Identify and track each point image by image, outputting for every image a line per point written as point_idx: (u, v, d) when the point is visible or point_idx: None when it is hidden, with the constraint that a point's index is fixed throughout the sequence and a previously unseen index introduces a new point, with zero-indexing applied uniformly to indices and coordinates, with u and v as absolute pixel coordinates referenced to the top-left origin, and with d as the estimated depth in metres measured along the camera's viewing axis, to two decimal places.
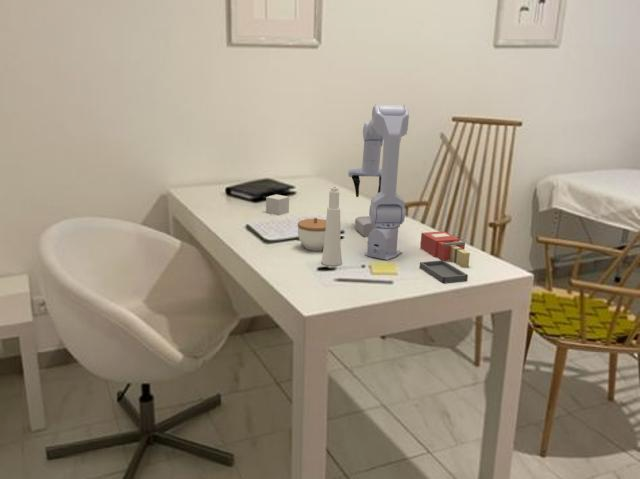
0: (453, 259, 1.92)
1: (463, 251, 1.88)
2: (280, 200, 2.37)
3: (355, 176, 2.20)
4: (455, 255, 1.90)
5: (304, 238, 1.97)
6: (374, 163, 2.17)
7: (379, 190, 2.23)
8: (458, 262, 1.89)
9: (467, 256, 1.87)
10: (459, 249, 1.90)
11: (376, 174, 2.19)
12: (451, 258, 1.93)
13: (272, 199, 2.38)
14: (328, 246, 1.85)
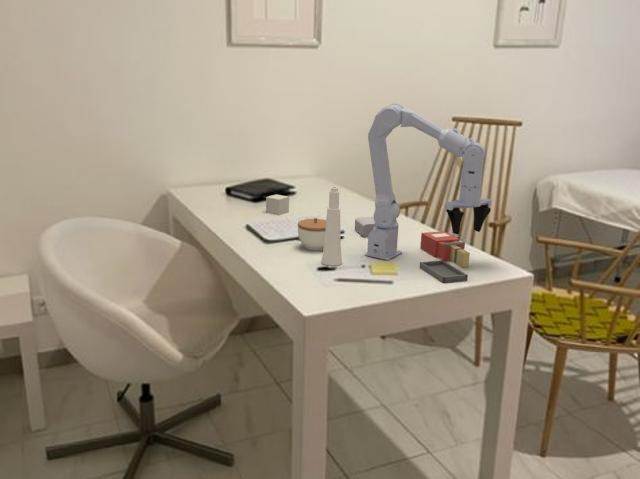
0: (453, 259, 1.92)
1: (463, 251, 1.88)
2: (280, 200, 2.37)
3: None
4: (455, 255, 1.90)
5: (304, 238, 1.97)
6: None
7: None
8: (458, 262, 1.89)
9: (467, 256, 1.87)
10: (459, 249, 1.90)
11: None
12: (451, 258, 1.93)
13: (272, 199, 2.38)
14: (328, 246, 1.85)
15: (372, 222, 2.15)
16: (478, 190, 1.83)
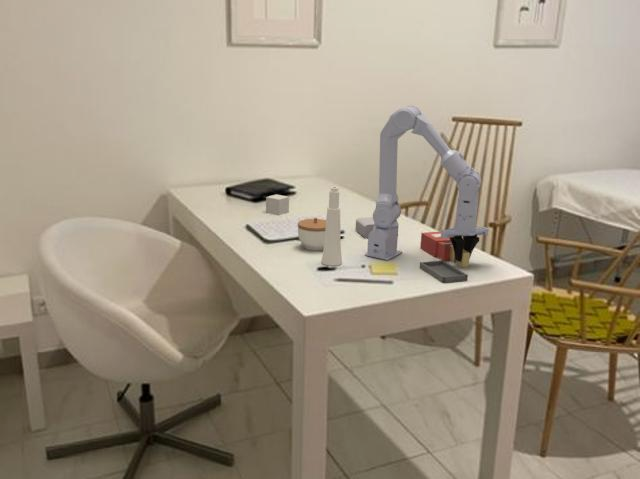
0: (453, 259, 1.92)
1: (463, 251, 1.88)
2: (280, 200, 2.37)
3: None
4: None
5: (304, 238, 1.97)
6: None
7: None
8: (458, 262, 1.89)
9: (467, 256, 1.87)
10: None
11: None
12: (451, 258, 1.93)
13: (272, 199, 2.38)
14: (328, 246, 1.85)
15: (373, 223, 2.14)
16: (473, 219, 1.83)
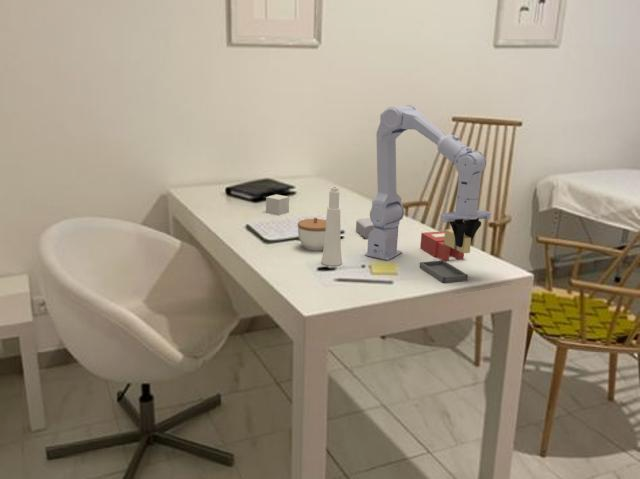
0: (453, 245, 1.82)
1: (464, 236, 1.78)
2: (280, 200, 2.37)
3: None
4: None
5: (304, 238, 1.97)
6: None
7: None
8: (459, 248, 1.79)
9: (468, 241, 1.77)
10: None
11: None
12: (451, 245, 1.83)
13: (272, 199, 2.38)
14: (328, 246, 1.85)
15: None
16: (475, 202, 1.73)
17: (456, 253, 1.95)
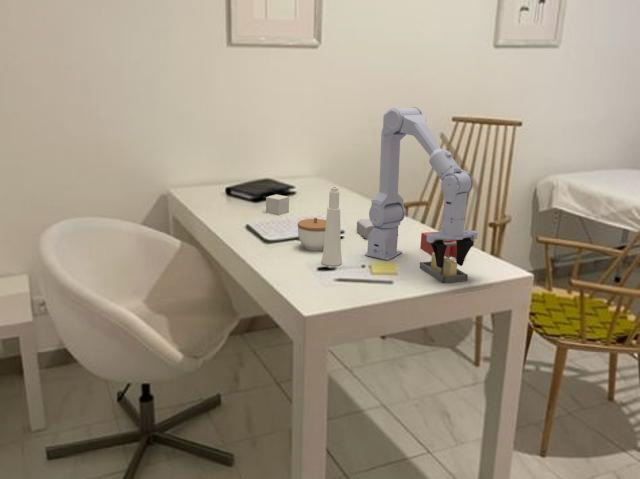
0: (440, 270, 1.81)
1: (450, 261, 1.77)
2: (280, 200, 2.37)
3: None
4: None
5: (304, 238, 1.97)
6: None
7: None
8: (445, 273, 1.78)
9: (454, 267, 1.76)
10: (446, 259, 1.79)
11: None
12: (438, 268, 1.82)
13: (272, 199, 2.38)
14: (328, 246, 1.85)
15: None
16: (461, 222, 1.72)
17: (456, 253, 1.95)
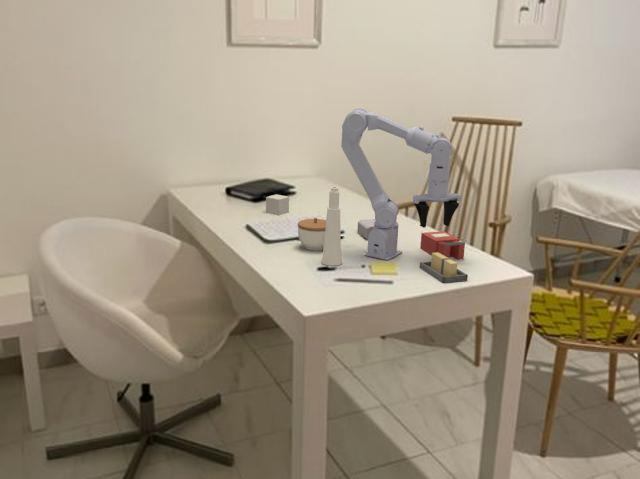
0: (440, 270, 1.81)
1: (450, 261, 1.77)
2: (280, 200, 2.37)
3: None
4: (442, 266, 1.79)
5: (304, 238, 1.97)
6: None
7: None
8: (445, 273, 1.78)
9: (454, 267, 1.76)
10: (446, 259, 1.79)
11: None
12: (438, 268, 1.82)
13: (272, 199, 2.38)
14: (328, 246, 1.85)
15: None
16: (444, 185, 1.86)
17: (456, 253, 1.95)
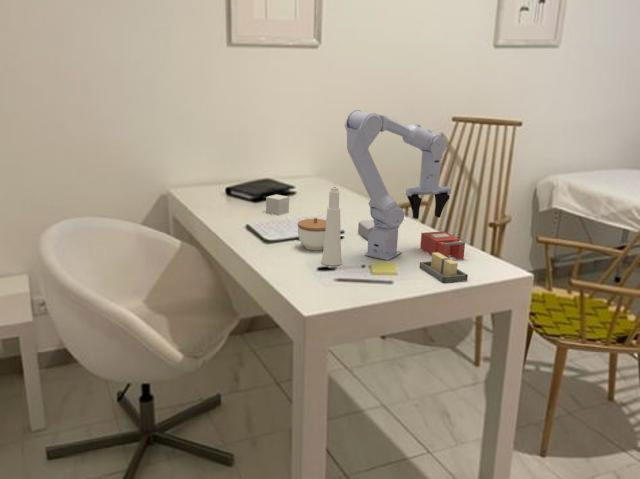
0: (440, 270, 1.81)
1: (450, 261, 1.77)
2: (280, 200, 2.37)
3: None
4: (442, 266, 1.79)
5: (304, 238, 1.97)
6: None
7: None
8: (445, 273, 1.78)
9: (454, 267, 1.76)
10: (446, 259, 1.79)
11: None
12: (438, 268, 1.82)
13: (272, 199, 2.38)
14: (328, 246, 1.85)
15: None
16: (436, 178, 1.95)
17: (456, 253, 1.95)
